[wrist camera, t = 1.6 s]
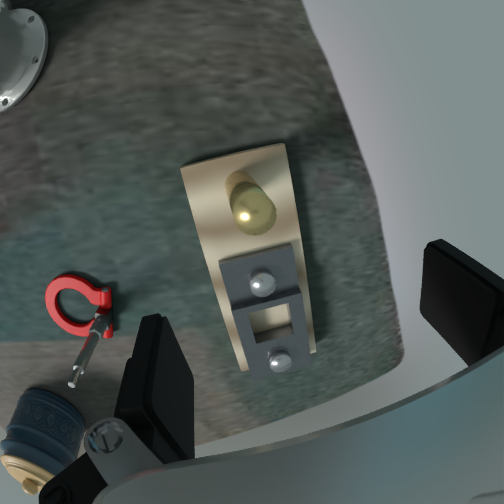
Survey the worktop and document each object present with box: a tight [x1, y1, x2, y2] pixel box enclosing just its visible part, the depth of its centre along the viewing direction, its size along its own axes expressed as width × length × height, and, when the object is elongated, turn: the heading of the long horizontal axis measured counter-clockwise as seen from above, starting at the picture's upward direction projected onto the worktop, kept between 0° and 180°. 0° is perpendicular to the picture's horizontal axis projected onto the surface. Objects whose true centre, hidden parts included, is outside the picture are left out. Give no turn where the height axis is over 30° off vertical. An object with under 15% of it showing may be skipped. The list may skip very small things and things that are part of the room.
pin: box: [225, 171, 277, 236], centre depth 25 cm, size 3×3×10 cm
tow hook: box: [45, 274, 113, 388], centre depth 28 cm, size 8×13×9 cm
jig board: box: [180, 143, 316, 371], centre depth 34 cm, size 26×10×2 cm, turn 12°
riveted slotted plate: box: [218, 243, 312, 380], centre depth 34 cm, size 16×8×3 cm, turn 12°
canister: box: [0, 389, 85, 495], centre depth 32 cm, size 13×13×18 cm
